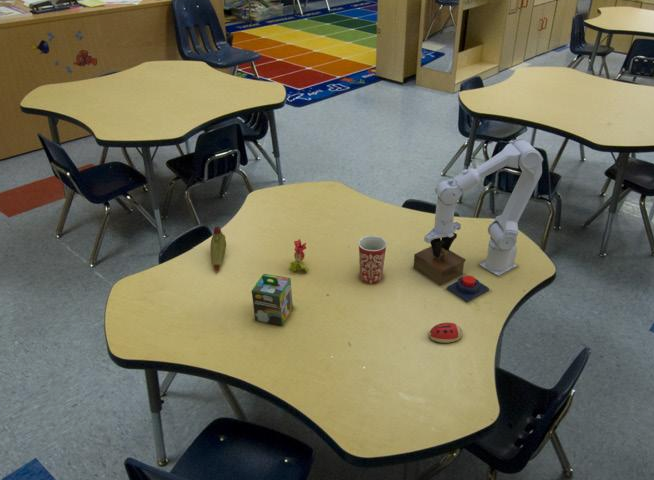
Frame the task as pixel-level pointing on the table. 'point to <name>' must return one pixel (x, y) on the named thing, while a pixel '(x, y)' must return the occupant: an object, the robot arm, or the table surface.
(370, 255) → the mug
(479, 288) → the button block
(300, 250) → the bird rattle
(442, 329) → the watermelon slice
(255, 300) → the chalk box
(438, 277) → the brown box
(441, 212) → the robot arm
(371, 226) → the table surface
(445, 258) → the box lid
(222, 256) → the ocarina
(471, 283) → the buzzer button
